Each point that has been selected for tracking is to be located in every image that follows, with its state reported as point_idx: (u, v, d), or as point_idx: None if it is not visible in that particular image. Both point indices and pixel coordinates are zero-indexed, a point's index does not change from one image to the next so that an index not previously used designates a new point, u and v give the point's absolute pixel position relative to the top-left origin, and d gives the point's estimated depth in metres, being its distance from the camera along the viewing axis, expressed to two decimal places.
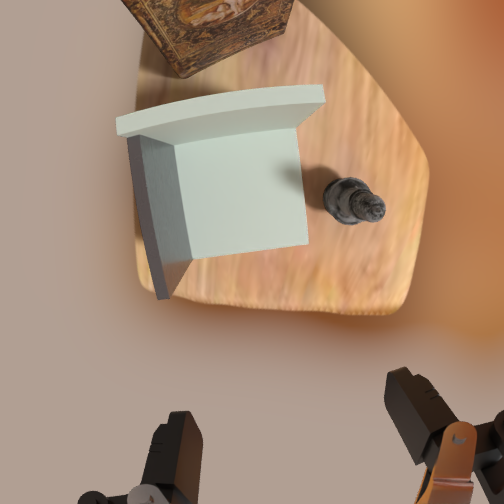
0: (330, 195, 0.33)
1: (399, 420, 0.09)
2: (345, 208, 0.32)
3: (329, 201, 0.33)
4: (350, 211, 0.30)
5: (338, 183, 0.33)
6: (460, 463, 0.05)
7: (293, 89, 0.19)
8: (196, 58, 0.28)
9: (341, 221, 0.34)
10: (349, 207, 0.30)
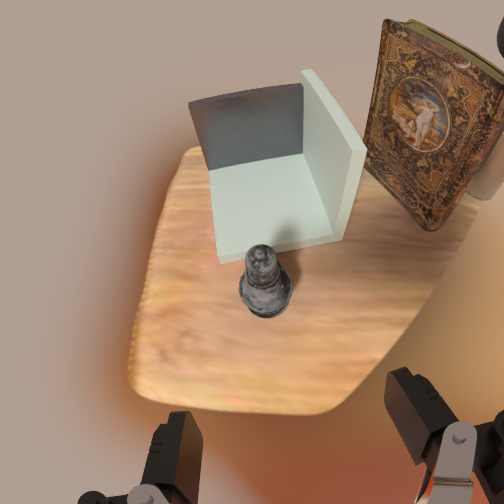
0: None
1: (399, 420, 0.09)
2: None
3: None
4: None
5: (283, 269, 0.32)
6: (460, 463, 0.05)
7: (354, 133, 0.24)
8: (376, 153, 0.38)
9: (242, 277, 0.32)
10: None
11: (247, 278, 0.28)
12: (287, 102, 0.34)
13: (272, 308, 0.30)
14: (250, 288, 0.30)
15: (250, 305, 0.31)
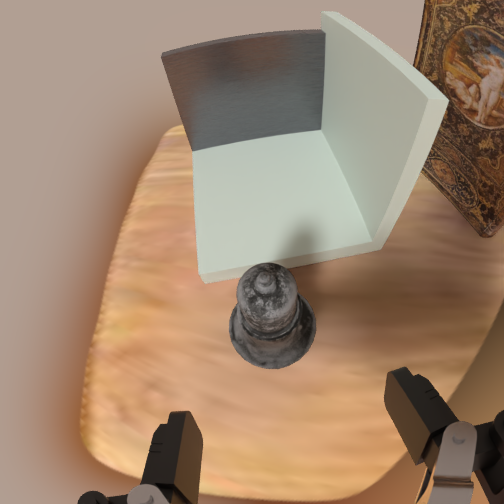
0: None
1: (399, 420, 0.09)
2: None
3: None
4: None
5: (301, 298, 0.20)
6: (460, 463, 0.05)
7: (421, 77, 0.12)
8: None
9: (235, 310, 0.20)
10: None
11: (242, 319, 0.15)
12: (302, 53, 0.21)
13: (283, 363, 0.18)
14: None
15: (247, 357, 0.18)
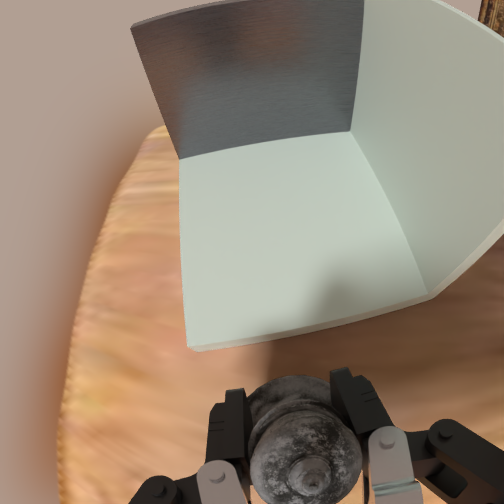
0: (307, 378, 0.12)
1: None
2: None
3: (291, 377, 0.13)
4: (277, 410, 0.09)
5: None
6: (397, 467, 0.05)
7: None
8: None
9: None
10: (290, 405, 0.09)
11: None
12: (333, 25, 0.14)
13: None
14: None
15: None
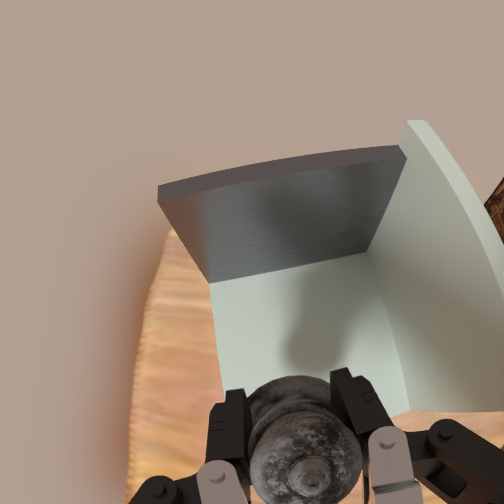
0: (307, 378, 0.12)
1: None
2: None
3: (291, 377, 0.13)
4: (277, 410, 0.09)
5: None
6: (397, 466, 0.05)
7: None
8: None
9: None
10: (290, 405, 0.09)
11: None
12: (369, 185, 0.17)
13: None
14: None
15: None
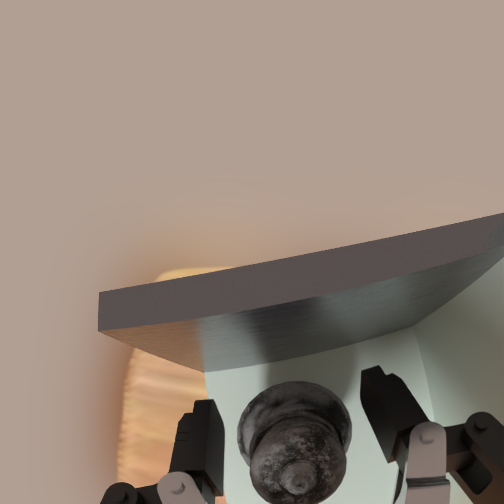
0: (305, 384, 0.13)
1: (372, 418, 0.09)
2: None
3: (291, 383, 0.14)
4: (276, 416, 0.10)
5: (335, 399, 0.13)
6: (432, 463, 0.05)
7: None
8: None
9: (244, 416, 0.13)
10: (287, 412, 0.10)
11: None
12: (462, 276, 0.09)
13: None
14: None
15: None
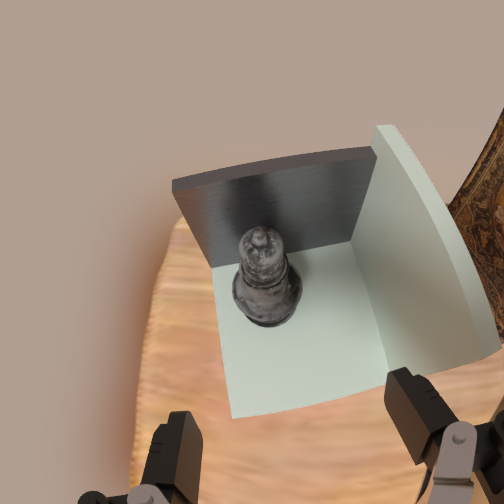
0: None
1: (399, 420, 0.09)
2: None
3: None
4: None
5: (290, 264, 0.25)
6: (460, 463, 0.05)
7: (486, 309, 0.11)
8: None
9: (236, 275, 0.25)
10: None
11: (242, 274, 0.20)
12: (346, 180, 0.20)
13: (277, 316, 0.23)
14: (247, 289, 0.23)
15: (247, 311, 0.23)
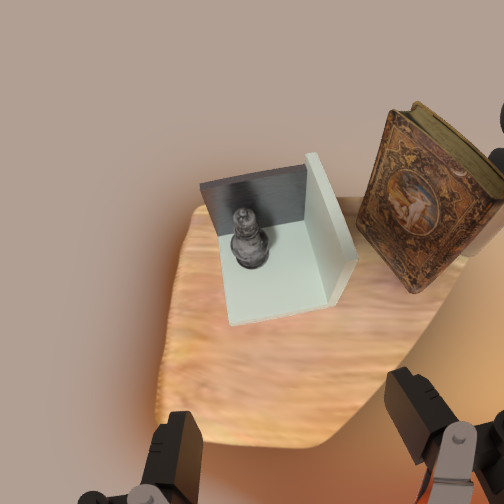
0: None
1: (399, 420, 0.09)
2: None
3: None
4: None
5: (263, 231, 0.44)
6: (460, 463, 0.05)
7: (349, 240, 0.30)
8: (371, 223, 0.44)
9: (232, 237, 0.44)
10: None
11: (235, 233, 0.39)
12: (291, 183, 0.39)
13: (255, 258, 0.42)
14: (238, 243, 0.42)
15: (238, 256, 0.42)
